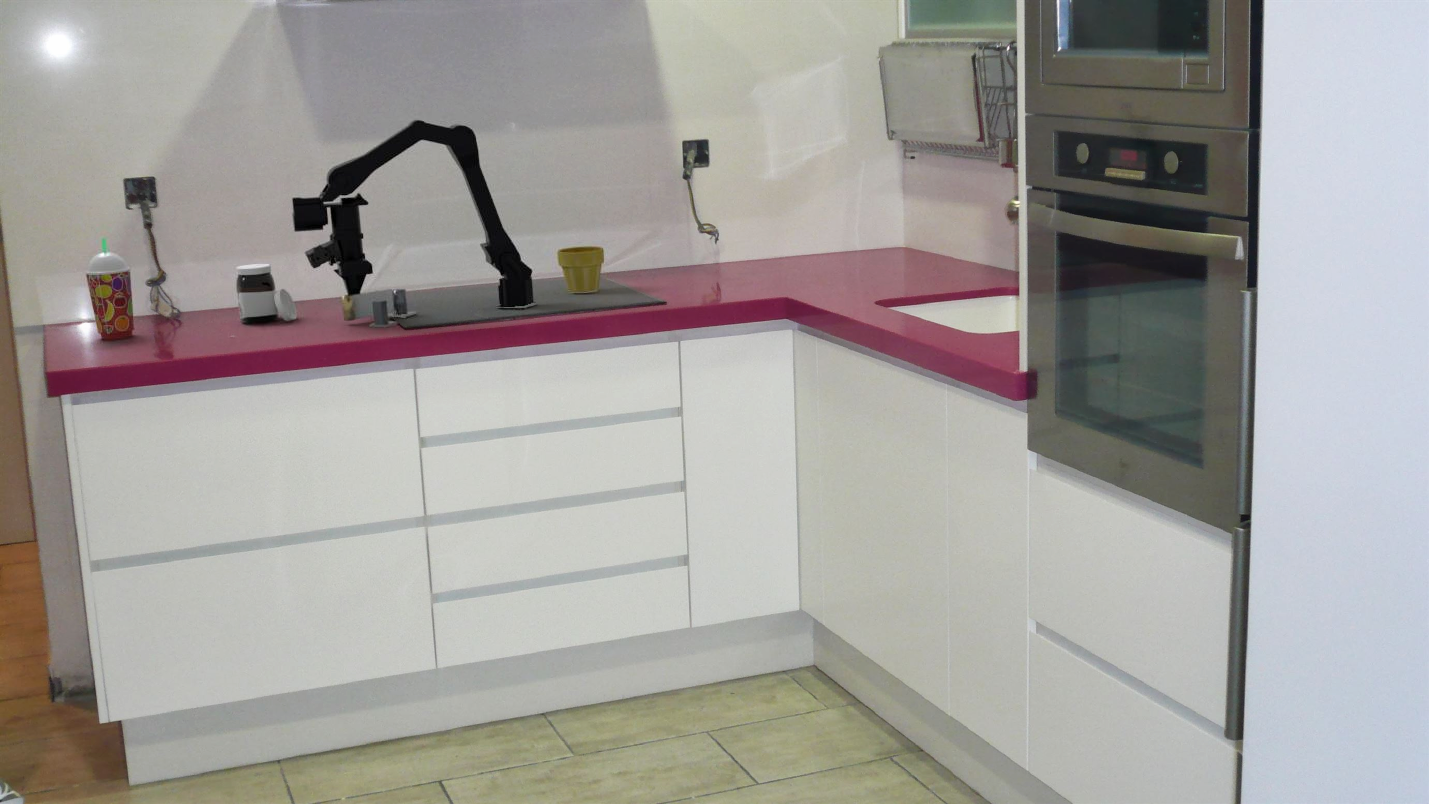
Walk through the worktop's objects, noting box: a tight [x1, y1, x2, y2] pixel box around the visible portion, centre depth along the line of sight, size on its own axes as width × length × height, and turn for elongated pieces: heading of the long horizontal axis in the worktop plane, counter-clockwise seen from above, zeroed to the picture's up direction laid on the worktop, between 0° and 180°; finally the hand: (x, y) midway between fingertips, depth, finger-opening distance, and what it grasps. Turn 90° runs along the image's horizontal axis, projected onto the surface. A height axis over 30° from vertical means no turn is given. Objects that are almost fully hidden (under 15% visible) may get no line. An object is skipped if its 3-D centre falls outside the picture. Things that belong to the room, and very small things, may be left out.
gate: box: [341, 288, 394, 322], centre depth 291 cm, size 11×2×5 cm, turn 134°
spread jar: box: [235, 263, 298, 325], centre depth 296 cm, size 12×11×12 cm
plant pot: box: [557, 245, 605, 293], centre depth 317 cm, size 10×10×10 cm
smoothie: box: [84, 237, 135, 341], centre depth 282 cm, size 8×8×20 cm
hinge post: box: [388, 288, 418, 319], centre depth 296 cm, size 5×5×6 cm
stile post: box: [369, 300, 398, 329], centre depth 285 cm, size 4×4×5 cm
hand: (353, 304), depth 291 cm, fingers closed
